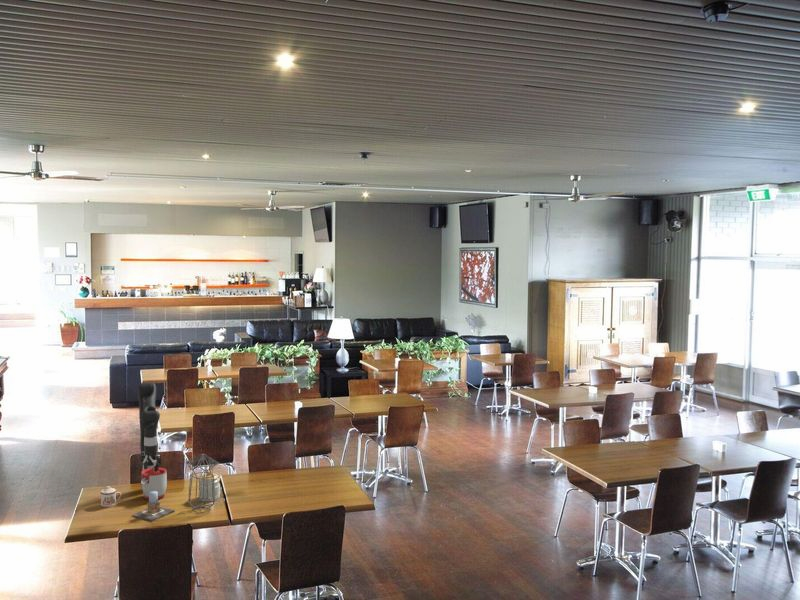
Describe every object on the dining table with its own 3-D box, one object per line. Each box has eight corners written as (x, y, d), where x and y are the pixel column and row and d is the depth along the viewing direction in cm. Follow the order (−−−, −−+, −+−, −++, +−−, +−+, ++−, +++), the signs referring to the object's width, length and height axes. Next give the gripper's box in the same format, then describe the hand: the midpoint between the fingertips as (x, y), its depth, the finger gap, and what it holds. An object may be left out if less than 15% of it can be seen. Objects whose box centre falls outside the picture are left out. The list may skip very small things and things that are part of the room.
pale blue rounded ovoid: (153, 500, 442) (153, 490, 442) (159, 501, 440) (159, 492, 439) (147, 502, 438) (147, 493, 437) (153, 504, 435) (153, 494, 435)
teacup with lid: (101, 508, 446) (101, 490, 445) (99, 503, 454) (99, 485, 453) (122, 505, 452) (122, 487, 451) (120, 500, 460) (119, 482, 459)
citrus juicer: (133, 499, 463) (133, 468, 461) (154, 491, 478) (154, 461, 476) (151, 504, 455) (151, 472, 454) (172, 495, 471) (172, 465, 469)
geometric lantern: (183, 509, 447) (184, 453, 445) (206, 504, 458) (207, 449, 456) (196, 516, 436) (197, 458, 434) (220, 510, 447) (220, 454, 445)
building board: (155, 506, 451) (155, 503, 451) (174, 511, 444) (174, 508, 444) (132, 516, 435) (132, 513, 435) (152, 521, 428) (152, 518, 428)
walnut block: (153, 509, 443) (153, 500, 442) (159, 511, 440) (159, 501, 440) (147, 512, 438) (147, 502, 438) (153, 514, 436) (153, 504, 435)
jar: (214, 502, 460) (214, 475, 458) (195, 500, 462) (194, 473, 461) (223, 495, 473) (223, 469, 471) (204, 493, 475) (204, 467, 474)
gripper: (164, 444, 438) (164, 470, 439) (146, 440, 445) (147, 466, 446) (154, 447, 431) (154, 473, 433) (137, 443, 438) (137, 470, 439)
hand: (150, 470), depth 439 cm, fingers open, 8 cm apart
